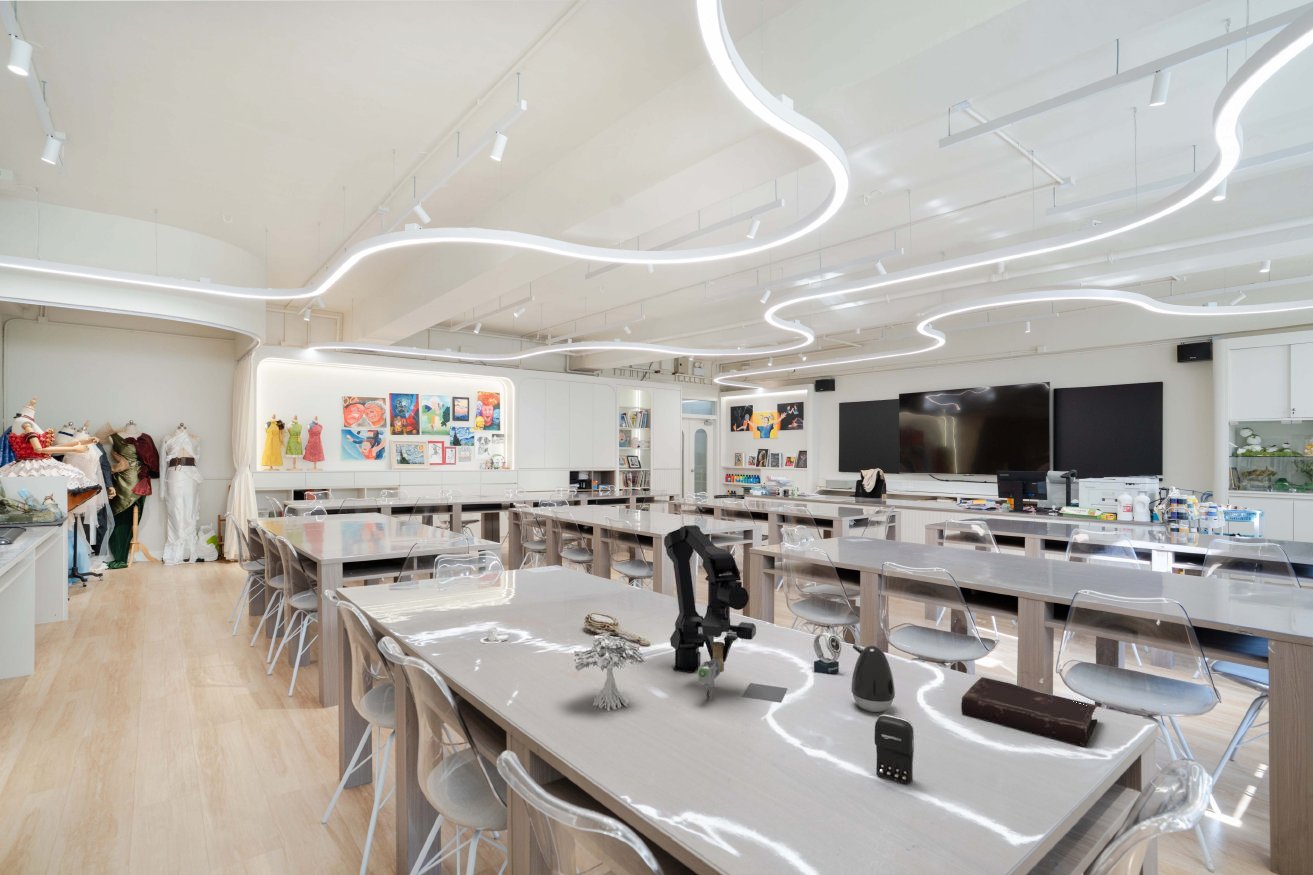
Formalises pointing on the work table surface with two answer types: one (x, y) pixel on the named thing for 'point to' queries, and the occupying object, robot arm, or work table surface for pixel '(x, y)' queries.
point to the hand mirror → (609, 626)
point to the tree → (609, 665)
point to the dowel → (719, 653)
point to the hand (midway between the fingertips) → (718, 660)
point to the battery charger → (894, 748)
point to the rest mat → (765, 692)
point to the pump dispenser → (872, 680)
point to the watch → (825, 663)
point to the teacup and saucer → (493, 636)
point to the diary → (1030, 711)
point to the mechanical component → (709, 675)
